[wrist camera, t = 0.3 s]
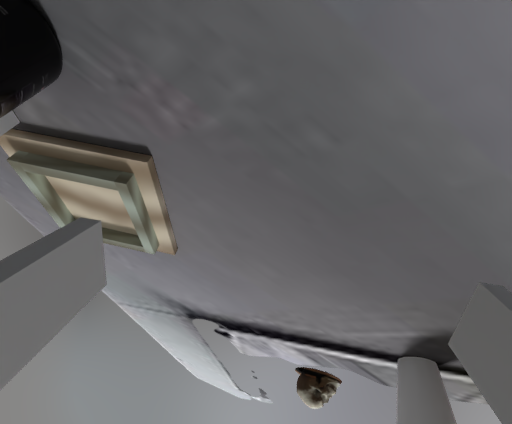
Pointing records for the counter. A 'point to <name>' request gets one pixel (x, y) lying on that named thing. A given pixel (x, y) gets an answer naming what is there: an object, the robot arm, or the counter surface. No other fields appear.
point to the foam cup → (421, 393)
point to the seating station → (94, 188)
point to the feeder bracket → (8, 122)
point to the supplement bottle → (25, 54)
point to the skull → (316, 386)
